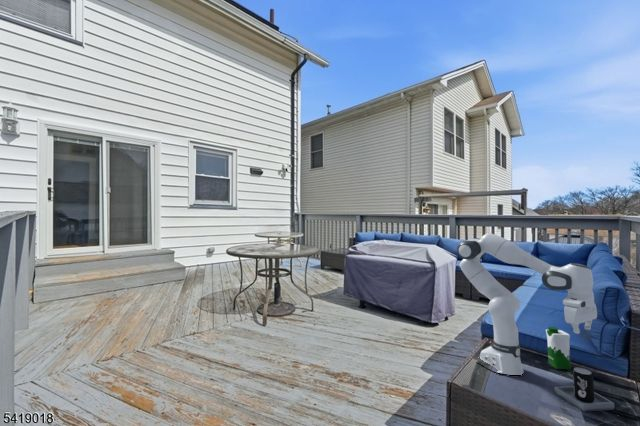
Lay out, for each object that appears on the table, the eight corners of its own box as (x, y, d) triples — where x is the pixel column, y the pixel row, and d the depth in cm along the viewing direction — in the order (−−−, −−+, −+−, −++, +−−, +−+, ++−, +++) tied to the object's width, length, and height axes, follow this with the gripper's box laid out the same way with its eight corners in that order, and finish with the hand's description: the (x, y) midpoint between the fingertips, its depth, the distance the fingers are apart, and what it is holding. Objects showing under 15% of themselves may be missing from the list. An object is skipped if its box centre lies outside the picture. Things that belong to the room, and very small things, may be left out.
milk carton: (545, 362, 164) (543, 325, 165) (563, 362, 163) (561, 325, 164) (555, 369, 156) (553, 330, 157) (574, 370, 154) (572, 331, 155)
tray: (583, 411, 121) (582, 404, 121) (554, 392, 134) (554, 386, 134) (614, 409, 122) (614, 403, 122) (583, 391, 135) (583, 385, 135)
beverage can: (598, 404, 124) (596, 374, 124) (580, 402, 125) (578, 373, 126) (587, 395, 130) (586, 367, 131) (570, 394, 132) (569, 366, 132)
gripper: (583, 296, 141) (585, 325, 141) (560, 301, 132) (561, 332, 132) (601, 298, 136) (602, 329, 135) (577, 304, 127) (579, 337, 126)
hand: (582, 331), depth 133 cm, fingers open, 8 cm apart
